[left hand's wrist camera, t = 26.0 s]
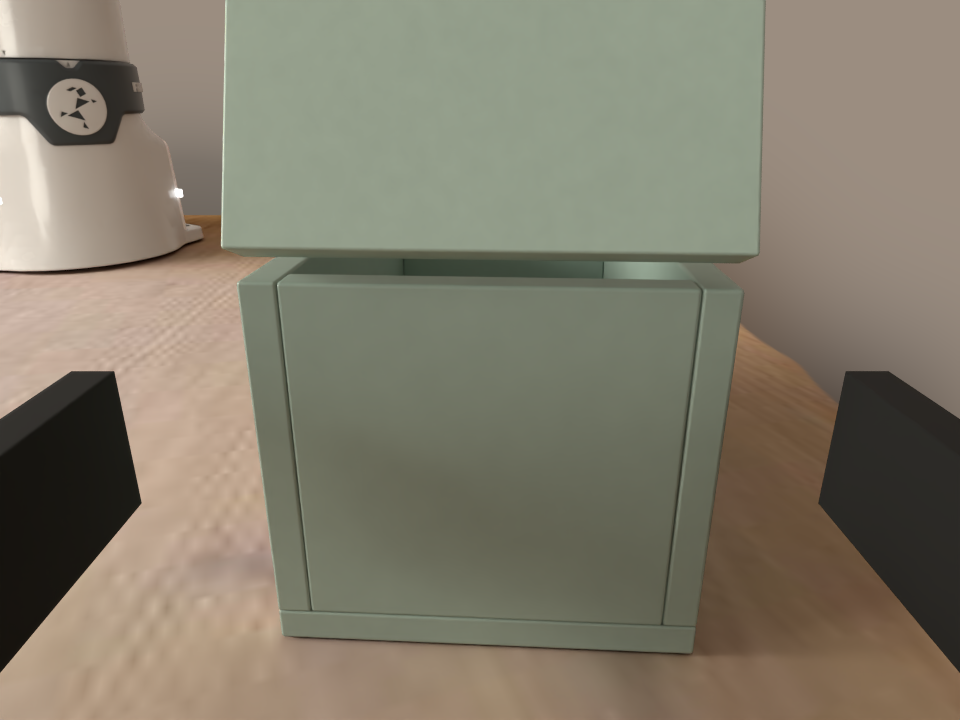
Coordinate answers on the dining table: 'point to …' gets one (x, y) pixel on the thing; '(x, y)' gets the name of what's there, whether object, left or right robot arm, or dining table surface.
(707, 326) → the chest
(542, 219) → the lid
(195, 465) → the dining table surface
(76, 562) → the left robot arm
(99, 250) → the right robot arm
